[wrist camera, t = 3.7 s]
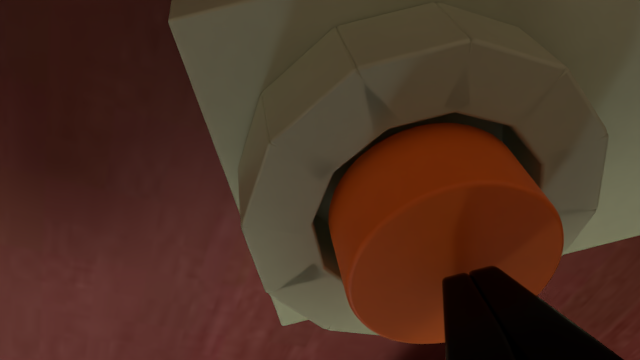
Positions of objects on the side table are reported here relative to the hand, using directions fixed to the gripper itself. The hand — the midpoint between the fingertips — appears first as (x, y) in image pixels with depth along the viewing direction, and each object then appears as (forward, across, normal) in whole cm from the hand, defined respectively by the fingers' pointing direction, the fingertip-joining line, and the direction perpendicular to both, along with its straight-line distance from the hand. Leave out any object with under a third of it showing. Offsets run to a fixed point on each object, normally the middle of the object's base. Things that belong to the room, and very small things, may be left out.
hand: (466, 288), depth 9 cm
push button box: (+6, -2, 0) cm, 6 cm away
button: (+2, 0, 0) cm, 2 cm away
